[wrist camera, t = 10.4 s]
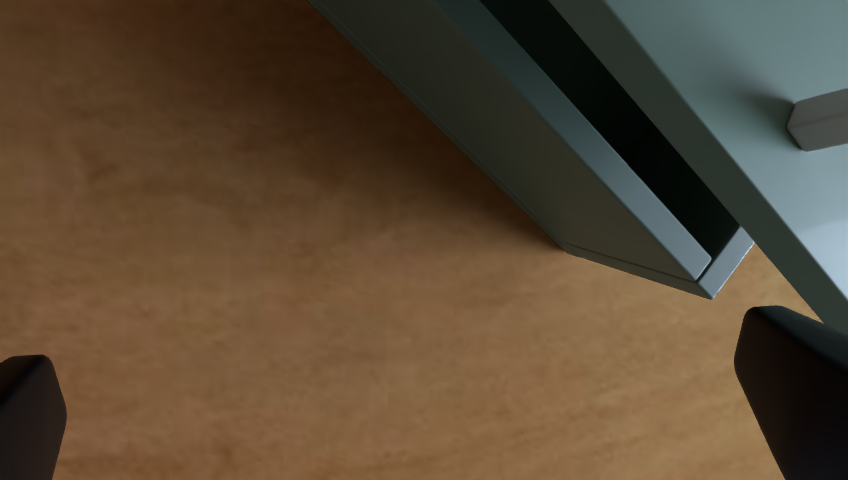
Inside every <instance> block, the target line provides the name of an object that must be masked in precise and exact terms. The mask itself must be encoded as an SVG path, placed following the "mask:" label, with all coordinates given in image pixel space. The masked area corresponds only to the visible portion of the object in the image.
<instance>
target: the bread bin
mask: <svg viewBox="0 0 848 480" xmlns="http://www.w3.org/2000/svg"><path fill="white" fill-rule="evenodd" d="M307 1H308V2H309V3H310V4H311V5H312V6H313V7H314V8H315V9H316V10H318V11H319V12H320V13H321V14H322V15H323V16H324V17H325V18H326V19H327V20H328V21H329V22H330V23H331V24H332V25H333V26H334V27H335V28H336V29H337V30H338V31H339V32H340V33H341V34H342V35H343V36H344V37H345V38H346V39H347V40H348V41H349V42H350V43H351V44H352V45H353V46H355V47H356V48H357V49H358V50H359V51H360V52H361V53H362V54H363V55H364V56H365V57H366V58H367V59H368V60H369V61H370V62H371V63H372V64H373V65H374V66H375V67H376V68H377V69H378V70H379V71H380V72H381V73H382V74H383V75H384V76H385V77H386V78H387V79H388V80H389V81H390V82H392V83H393V84H394V85H395V86H396V87H397V88H398V89H399V90H400V91H401V92H402V93H403V94H404V95H405V96H406V97H407V98H408V99H409V100H410V101H411V102H412V103H413V104H414V105H415V106H416V107H417V108H418V109H419V110H420V111H421V112H422V113H423V114H424V115H425V116H426V117H427V118H429V119H430V120H431V121H432V122H433V123H434V124H435V125H436V126H437V127H438V128H439V129H440V130H441V131H442V132H443V133H444V134H445V135H446V136H447V137H448V138H449V139H450V140H451V141H452V142H453V143H454V144H455V145H456V146H457V147H458V148H459V149H460V150H461V151H462V152H463V153H464V154H466V155H467V156H468V157H469V158H470V159H471V160H472V161H473V162H474V163H475V164H476V165H477V166H478V167H479V168H480V169H481V170H482V171H483V172H484V173H485V174H486V175H487V176H488V177H489V178H490V179H491V180H492V181H493V182H494V183H495V184H496V185H497V186H498V187H499V188H500V189H501V190H503V191H504V192H505V193H506V194H507V195H508V196H509V197H510V198H511V199H512V200H513V201H514V202H515V203H516V204H517V205H518V206H519V207H520V208H521V209H522V210H523V211H524V212H525V213H526V214H527V215H528V216H529V217H530V218H531V219H532V220H533V221H534V222H535V223H536V224H537V225H538V226H540V227H541V228H542V229H543V230H544V231H545V232H546V233H547V234H548V235H549V236H550V237H551V238H552V239H553V240H554V241H555V242H556V243H557V244H558V245H559V246H560V247H561V248H562V249H563V250H564V251H565V252H566V253H568V254H571V255H574V256H577V257H581V258H584V259H587V260H590V261H593V262H597V263H600V264H603V265H606V266H609V267H612V268H615V269H618V270H621V271H624V272H627V273H630V274H633V275H636V276H640V277H643V278H646V279H649V280H652V281H655V282H658V283H661V284H664V285H667V286H670V287H673V288H676V289H679V290H683V291H686V292H689V293H692V294H695V295H698V296H701V297H704V298H707V299H710V300H712V299H714V297H715V296H716V295H717V293H718V292H719V291H720V289H721V288H722V287H723V285H724V284H725V282H726V281H727V280H728V278H729V277H730V276H731V274H732V273H733V272H734V270H735V269H736V267H737V266H738V265H739V263H740V262H741V261H742V259H743V258H744V257H745V255H746V254H747V253H748V251H749V250H750V248H751V247H752V246H753V244H754V243H755V242H754V241H753V239H752V238H751V237H750V236H749V235H748V234H747V232H746V231H745V230H744V229H743V228H742V227H741V225H740V224H739V223H738V222H737V221H736V220H735V218H734V217H733V216H732V215H731V214H730V213H729V211H728V210H727V209H726V208H725V207H724V205H723V204H722V203H721V202H720V201H719V200H718V198H717V197H716V196H715V195H714V194H713V193H712V191H711V190H710V189H709V188H708V187H707V186H706V184H705V183H704V182H703V181H702V180H701V179H700V177H699V176H698V175H697V174H696V173H695V171H694V170H693V169H692V168H691V167H690V166H689V164H688V163H687V162H686V161H685V160H684V159H683V157H682V156H681V155H680V154H679V153H678V152H677V150H676V149H675V148H674V147H673V146H672V145H671V143H670V142H669V141H668V140H667V139H666V137H665V136H664V135H663V134H662V133H661V132H660V130H659V129H658V128H657V127H656V126H655V125H654V123H653V122H652V121H651V120H650V119H649V118H648V116H647V115H646V114H645V113H644V112H643V111H642V109H641V108H640V107H639V106H638V105H637V103H636V102H635V101H634V100H633V99H632V98H631V96H630V95H629V94H628V93H627V92H626V91H625V89H624V88H623V87H622V86H621V85H620V84H619V82H618V81H617V80H616V79H615V78H614V76H613V75H612V74H611V73H610V72H609V71H608V69H607V68H606V67H605V66H604V65H603V64H602V62H601V61H600V60H599V59H598V58H597V57H596V55H595V54H594V53H593V52H592V51H591V50H590V48H589V47H588V46H587V45H586V44H585V42H584V41H583V40H582V39H581V38H580V37H579V35H578V34H577V33H576V32H575V31H574V30H573V28H572V27H571V26H570V25H569V24H568V23H567V21H566V20H565V19H564V18H563V17H562V16H561V14H560V13H559V12H558V11H557V10H556V8H555V7H554V6H553V5H552V4H551V3H550V1H549V0H307Z"/></svg>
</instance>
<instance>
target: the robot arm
mask: <svg viewBox="0 0 848 480" xmlns="http://www.w3.org/2000/svg"><path fill="white" fill-rule="evenodd" d="M734 367H735V372H736V375H737V378H738V380H739V382H740V384H741V386H742V388H743V391H744V393H745V395H746V397H747V399H748V402H749V404H750V406H751V408H752V410H753V413H754V415H755V417H756V419H757V421H758V424H759V426H760V428H761V430H762V432H763V434H764V437H765V439H766V441H767V443H768V445H769V448H770V450H771V452H772V454H773V456H774V458H775V460H776V462H777V464H778V466H779V468H780V470H781V472H782V474H783V476H784V478H785V479H786V480H848V334H846V333H844V332H842V331H839V330H837V329H835V328H832V327H830V326H828V325H825V324H823V323H821V322H818V321H816V320H813V319H811V318H809V317H806V316H804V315H802V314H799V313H797V312H795V311H792V310H790V309H788V308H785V307H783V306H762V307H752V308H751V309H749V310H748V311H747V312H746V314H745V316H744V319H743V323H742V327H741V331H740V335H739V339H738V343H737V347H736V351H735V356H734ZM66 419H67V412H66V406H65V402H64V399H63V395H62V392H61V389H60V386H59V383H58V379H57V376H56V373H55V370H54V366H53V364H52V362H51V360H50V359H49V358H48V357H47V356H45V355H26V356H13V357H10V358H8V359H6V360H4V361H3V362H1V363H0V480H52V477H53V473H54V469H55V465H56V462H57V458H58V454H59V450H60V446H61V442H62V438H63V434H64V430H65V426H66Z"/></svg>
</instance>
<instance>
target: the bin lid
mask: <svg viewBox="0 0 848 480" xmlns="http://www.w3.org/2000/svg"><path fill="white" fill-rule="evenodd" d="M549 1H550V3H551V4H552V5H553V6H554V7H555V8H556V10H557V11H558V12H559V13H560V14H561V16H562V17H563V18H564V19H565V20H566V21H567V23H568V24H569V25H570V26H571V27H572V28H573V30H574V31H575V32H576V33H577V34H578V35H579V37H580V38H581V39H582V40H583V41H584V42H585V44H586V45H587V46H588V47H589V48H590V50H591V51H592V52H593V53H594V54H595V55H596V57H597V58H598V59H599V60H600V61H601V62H602V64H603V65H604V66H605V67H606V68H607V69H608V71H609V72H610V73H611V74H612V75H613V76H614V78H615V79H616V80H617V81H618V82H619V84H620V85H621V86H622V87H623V88H624V89H625V91H626V92H627V93H628V94H629V95H630V96H631V98H632V99H633V100H634V101H635V102H636V103H637V105H638V106H639V107H640V108H641V109H642V111H643V112H644V113H645V114H646V115H647V116H648V118H649V119H650V120H651V121H652V122H653V123H654V125H655V126H656V127H657V128H658V129H659V130H660V132H661V133H662V134H663V135H664V136H665V137H666V139H667V140H668V141H669V142H670V143H671V145H672V146H673V147H674V148H675V149H676V150H677V152H678V153H679V154H680V155H681V156H682V157H683V159H684V160H685V161H686V162H687V163H688V164H689V166H690V167H691V168H692V169H693V170H694V171H695V173H696V174H697V175H698V176H699V177H700V179H701V180H702V181H703V182H704V183H705V184H706V186H707V187H708V188H709V189H710V190H711V191H712V193H713V194H714V195H715V196H716V197H717V198H718V200H719V201H720V202H721V203H722V204H723V205H724V207H725V208H726V209H727V210H728V211H729V213H730V214H731V215H732V216H733V217H734V218H735V220H736V221H737V222H738V223H739V224H740V225H741V227H742V228H743V229H744V230H745V231H746V232H747V234H748V235H749V236H750V237H751V238H752V239H753V241H754V242H755V243H756V244H757V245H758V247H759V248H760V249H761V250H762V251H763V252H764V254H765V255H766V256H767V257H768V258H769V259H770V261H771V262H772V263H773V264H774V265H775V266H776V268H777V269H778V270H779V271H780V272H781V273H782V275H783V276H784V277H785V278H786V279H787V281H788V282H789V283H790V284H791V285H792V286H793V288H794V289H795V290H796V291H797V292H798V293H799V295H800V296H801V297H802V298H803V299H804V300H805V302H806V303H807V304H808V305H809V306H810V307H811V309H812V310H813V311H814V312H815V313H816V315H817V316H818V317H819V318H820V319H821V320H822V322H823V323H824V324H825V325H828V326H830V327H832V328H835V329H837V330H839V331H842V332H844V333H846V334H848V0H549Z"/></svg>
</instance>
